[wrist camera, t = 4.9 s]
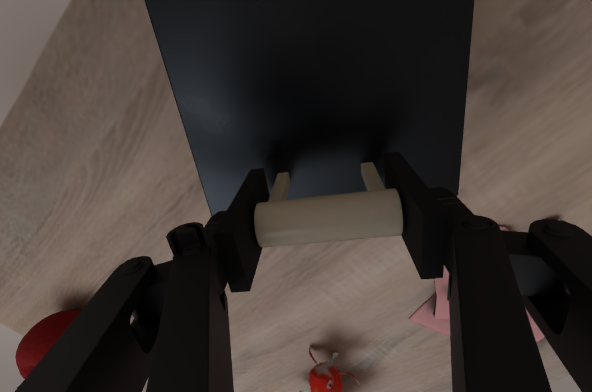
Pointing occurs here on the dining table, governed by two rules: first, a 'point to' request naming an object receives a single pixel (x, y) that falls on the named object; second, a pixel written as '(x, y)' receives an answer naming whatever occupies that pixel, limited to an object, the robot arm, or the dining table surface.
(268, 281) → the dining table surface
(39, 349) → the apple
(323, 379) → the fish
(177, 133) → the dining table surface
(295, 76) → the lid
